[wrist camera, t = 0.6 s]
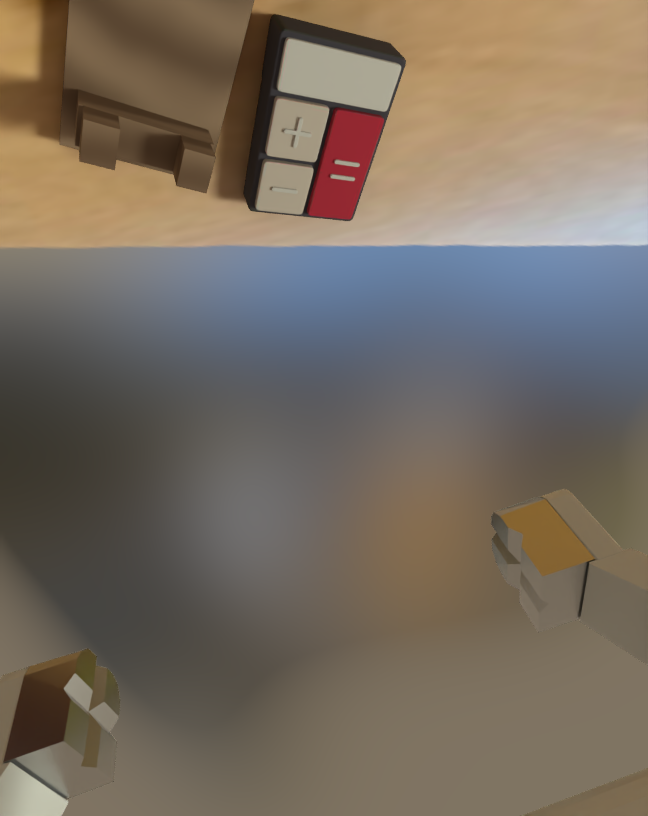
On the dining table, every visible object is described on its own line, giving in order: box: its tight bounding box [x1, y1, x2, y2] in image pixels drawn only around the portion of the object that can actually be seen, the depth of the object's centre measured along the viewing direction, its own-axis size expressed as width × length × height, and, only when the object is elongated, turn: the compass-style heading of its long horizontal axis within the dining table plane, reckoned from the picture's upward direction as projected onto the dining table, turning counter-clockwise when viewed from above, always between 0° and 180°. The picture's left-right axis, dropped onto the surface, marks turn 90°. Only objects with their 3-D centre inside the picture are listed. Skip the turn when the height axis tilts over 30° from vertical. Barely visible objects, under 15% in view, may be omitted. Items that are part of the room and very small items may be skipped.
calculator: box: [244, 15, 406, 221], centre depth 47 cm, size 11×4×15 cm
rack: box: [60, 0, 254, 193], centre depth 37 cm, size 20×12×7 cm, turn 156°
